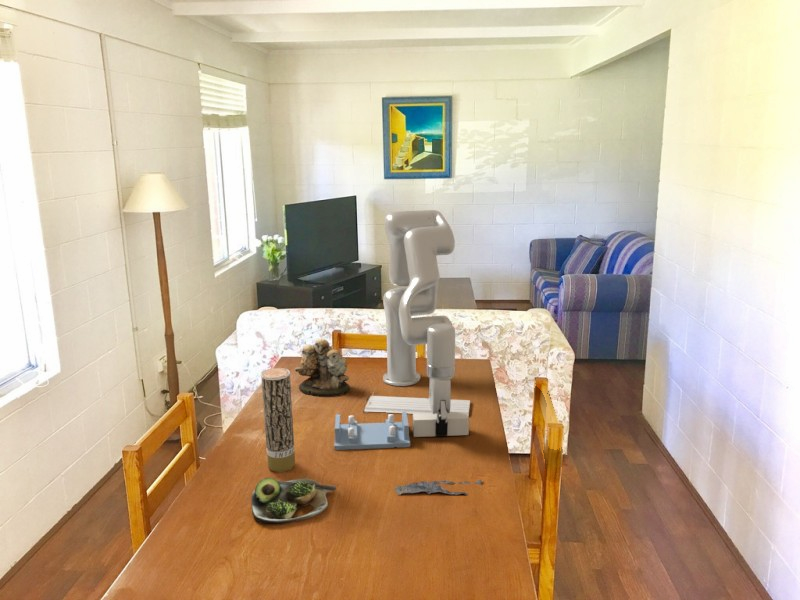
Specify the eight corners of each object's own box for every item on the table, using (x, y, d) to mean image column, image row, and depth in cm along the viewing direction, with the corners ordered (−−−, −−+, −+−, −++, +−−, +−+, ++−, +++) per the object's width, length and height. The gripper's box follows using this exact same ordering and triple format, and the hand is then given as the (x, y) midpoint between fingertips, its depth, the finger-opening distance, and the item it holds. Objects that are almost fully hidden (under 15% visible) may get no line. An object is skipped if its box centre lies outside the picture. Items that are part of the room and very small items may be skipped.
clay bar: (413, 437, 179) (413, 420, 178) (412, 430, 183) (412, 413, 182) (468, 434, 180) (468, 418, 179) (466, 428, 184) (466, 411, 183)
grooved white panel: (468, 421, 191) (470, 405, 202) (468, 412, 190) (470, 396, 201) (363, 416, 195) (370, 400, 207) (362, 406, 194) (370, 391, 206)
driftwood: (392, 498, 152) (392, 490, 151) (394, 482, 158) (394, 475, 158) (483, 500, 151) (483, 492, 150) (480, 484, 157) (481, 476, 157)
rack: (334, 450, 173) (333, 432, 172) (336, 428, 186) (335, 411, 184) (410, 446, 174) (410, 428, 173) (406, 425, 187) (406, 408, 186)
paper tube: (262, 467, 165) (255, 373, 159) (284, 457, 170) (278, 366, 164) (278, 476, 161) (272, 380, 154) (300, 465, 165) (295, 372, 159)
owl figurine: (291, 395, 210) (287, 344, 206) (302, 382, 221) (299, 333, 217) (346, 397, 207) (343, 346, 203) (354, 384, 218) (352, 335, 214)
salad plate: (330, 477, 161) (329, 460, 159) (344, 517, 144) (343, 498, 143) (249, 489, 156) (248, 471, 155) (254, 532, 139) (252, 512, 138)
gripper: (423, 359, 184) (423, 418, 189) (430, 382, 168) (430, 446, 173) (450, 358, 185) (449, 417, 190) (459, 381, 169) (458, 445, 174)
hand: (440, 430), depth 181 cm, fingers closed on clay bar, 4 cm apart
